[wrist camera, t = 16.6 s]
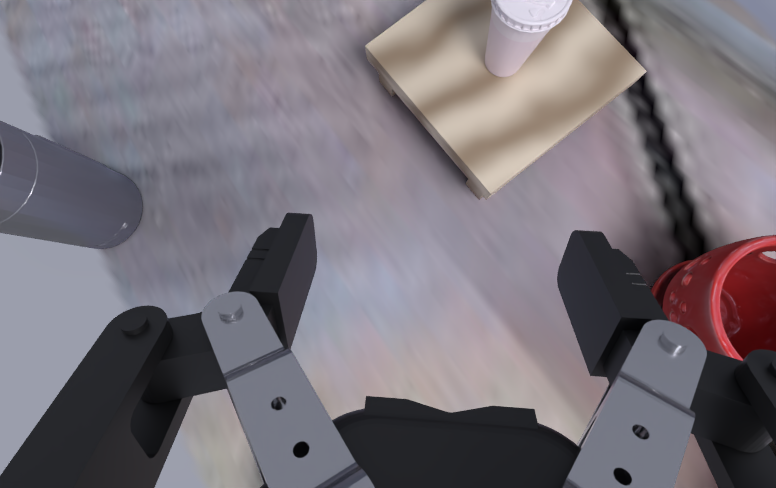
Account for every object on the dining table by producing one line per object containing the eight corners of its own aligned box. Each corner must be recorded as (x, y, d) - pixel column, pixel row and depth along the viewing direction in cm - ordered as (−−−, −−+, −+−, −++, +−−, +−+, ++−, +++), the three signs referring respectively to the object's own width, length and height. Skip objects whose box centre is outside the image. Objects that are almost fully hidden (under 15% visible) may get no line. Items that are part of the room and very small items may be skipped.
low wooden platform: (370, 81, 50) (365, 45, 43) (499, -17, 51) (514, -67, 44) (478, 209, 47) (491, 194, 40) (611, 104, 48) (646, 71, 41)
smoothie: (503, 19, 43) (554, -118, 29) (548, 61, 42) (622, -59, 28) (457, 58, 42) (487, -62, 28) (502, 102, 41) (555, 0, 28)
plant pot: (782, 316, 45) (920, 323, 33) (695, 399, 44) (803, 436, 32) (692, 226, 46) (792, 201, 34) (606, 304, 46) (678, 306, 34)
